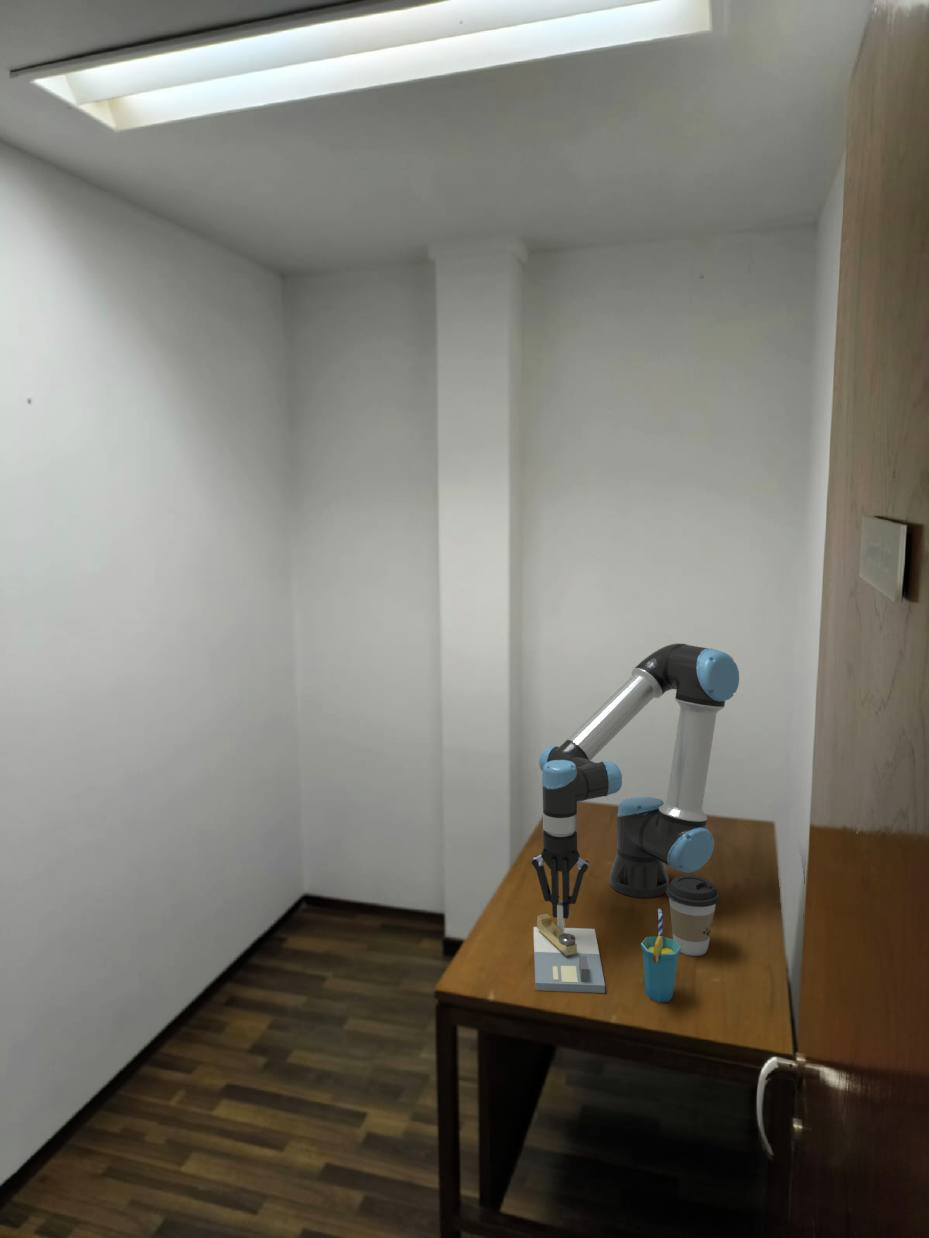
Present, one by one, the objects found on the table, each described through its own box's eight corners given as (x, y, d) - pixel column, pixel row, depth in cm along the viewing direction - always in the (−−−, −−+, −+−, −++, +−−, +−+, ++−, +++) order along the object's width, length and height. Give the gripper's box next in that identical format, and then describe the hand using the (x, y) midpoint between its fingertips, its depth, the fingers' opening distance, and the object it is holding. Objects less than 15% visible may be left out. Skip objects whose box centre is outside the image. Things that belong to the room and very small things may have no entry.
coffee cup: (710, 966, 174) (713, 899, 172) (658, 952, 179) (660, 888, 178) (722, 942, 184) (724, 879, 182) (672, 930, 189) (674, 868, 187)
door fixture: (594, 935, 187) (594, 917, 186) (604, 992, 164) (605, 972, 164) (533, 933, 188) (533, 915, 187) (535, 990, 165) (535, 969, 164)
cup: (639, 971, 172) (641, 904, 170) (677, 975, 170) (679, 907, 169) (639, 1009, 158) (641, 937, 157) (680, 1014, 157) (683, 941, 155)
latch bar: (578, 952, 175) (579, 939, 175) (564, 956, 174) (564, 942, 173) (548, 925, 187) (549, 912, 187) (535, 928, 185) (535, 915, 185)
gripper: (591, 826, 183) (591, 925, 185) (535, 822, 186) (536, 919, 189) (586, 839, 175) (587, 942, 178) (528, 834, 179) (529, 935, 182)
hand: (561, 930), depth 184 cm, fingers closed
